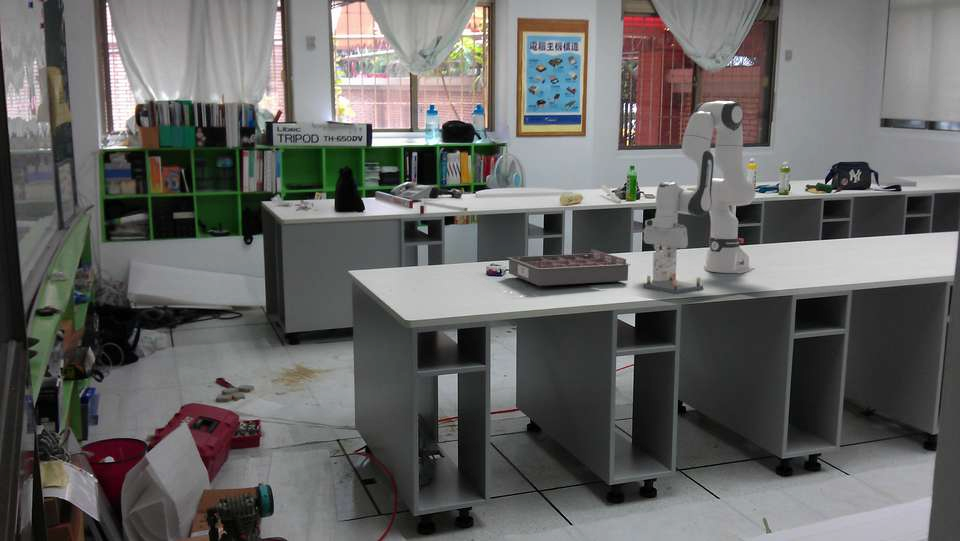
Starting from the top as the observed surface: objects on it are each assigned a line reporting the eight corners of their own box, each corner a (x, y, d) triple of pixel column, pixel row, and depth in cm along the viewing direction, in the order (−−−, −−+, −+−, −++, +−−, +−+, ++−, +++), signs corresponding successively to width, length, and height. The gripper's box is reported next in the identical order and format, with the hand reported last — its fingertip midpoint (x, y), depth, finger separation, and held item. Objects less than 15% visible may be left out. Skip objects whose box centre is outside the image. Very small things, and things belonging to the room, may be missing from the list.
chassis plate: (670, 283, 353) (671, 272, 353) (703, 289, 341) (703, 277, 340) (643, 287, 344) (643, 275, 343) (675, 293, 331) (676, 281, 330)
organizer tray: (506, 276, 368) (506, 252, 366) (593, 271, 381) (593, 248, 380) (537, 289, 338) (537, 263, 337) (630, 284, 352) (631, 259, 350)
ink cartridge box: (667, 278, 364) (668, 243, 362) (676, 280, 360) (677, 244, 358) (651, 280, 360) (653, 244, 357) (660, 282, 356) (662, 245, 353)
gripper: (692, 224, 350) (690, 259, 352) (652, 220, 366) (651, 253, 368) (681, 225, 346) (680, 260, 348) (641, 220, 362) (640, 254, 364)
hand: (664, 256), depth 358 cm, fingers closed on ink cartridge box, 5 cm apart
